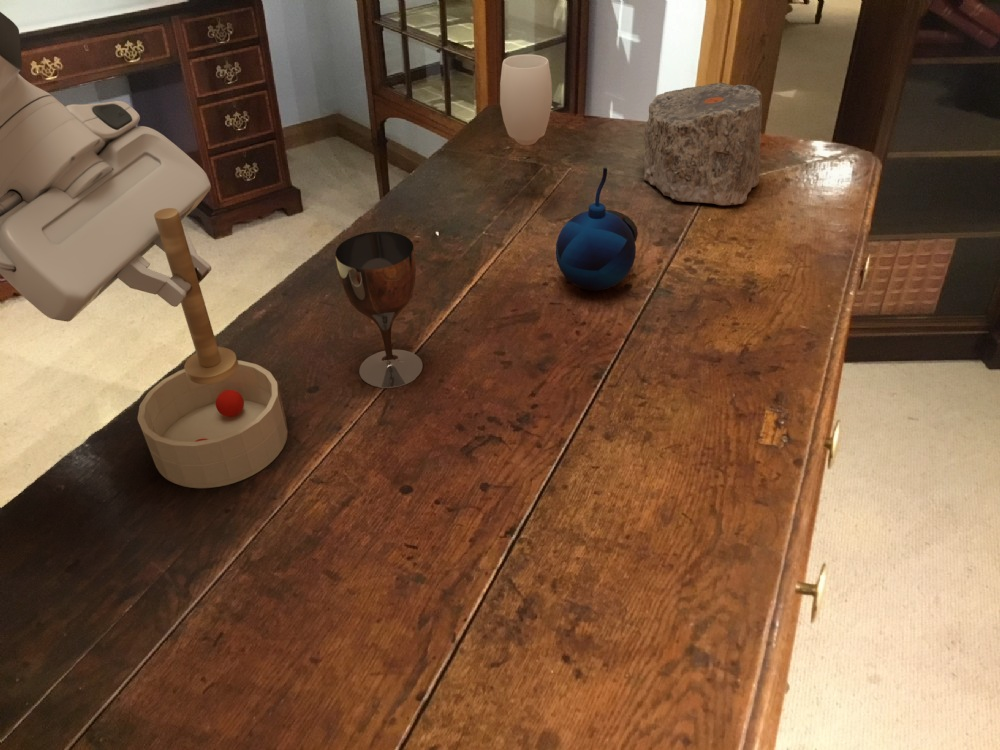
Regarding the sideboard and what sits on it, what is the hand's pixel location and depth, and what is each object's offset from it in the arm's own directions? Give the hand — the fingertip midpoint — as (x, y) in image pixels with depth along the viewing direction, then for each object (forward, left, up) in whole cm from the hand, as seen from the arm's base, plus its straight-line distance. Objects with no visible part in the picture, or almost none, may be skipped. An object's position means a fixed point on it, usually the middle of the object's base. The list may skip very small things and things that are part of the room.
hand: (194, 287), depth 69 cm
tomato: (-5, +9, -19) cm, 22 cm away
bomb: (+33, +37, -21) cm, 54 cm away
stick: (-1, 0, -8) cm, 8 cm away
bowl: (-5, +5, -21) cm, 22 cm away
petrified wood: (+49, +67, -21) cm, 86 cm away
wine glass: (+10, +18, -21) cm, 30 cm away
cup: (+23, +60, -21) cm, 68 cm away
